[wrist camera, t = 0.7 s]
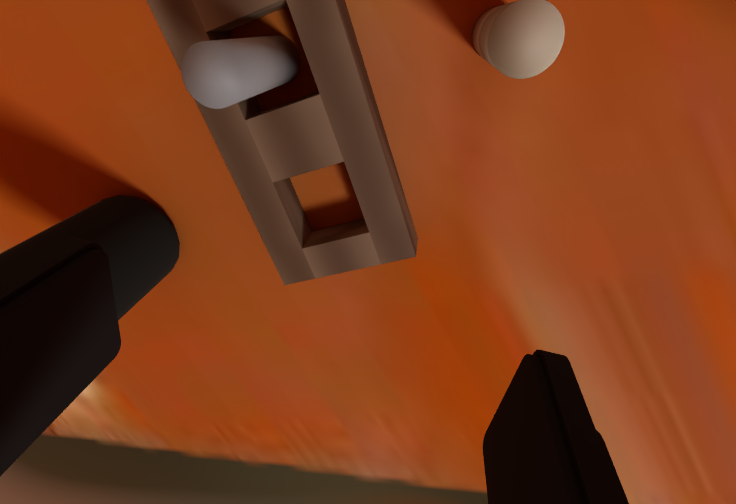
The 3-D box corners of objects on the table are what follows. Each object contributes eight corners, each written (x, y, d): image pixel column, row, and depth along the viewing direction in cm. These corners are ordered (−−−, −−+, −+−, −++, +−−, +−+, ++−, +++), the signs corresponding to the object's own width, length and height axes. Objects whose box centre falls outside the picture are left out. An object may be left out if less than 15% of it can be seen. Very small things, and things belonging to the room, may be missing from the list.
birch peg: (517, -2, 25) (559, -14, 16) (525, 51, 26) (568, 65, 18) (467, 16, 26) (482, 14, 17) (477, 67, 27) (495, 88, 18)
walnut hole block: (323, -68, 25) (310, -79, 22) (417, 238, 34) (415, 256, 31) (173, 1, 28) (146, -1, 25) (295, 266, 37) (284, 285, 34)
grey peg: (290, 28, 28) (223, 31, 19) (307, 75, 29) (251, 98, 20) (251, 44, 28) (169, 54, 20) (269, 89, 30) (200, 116, 21)
